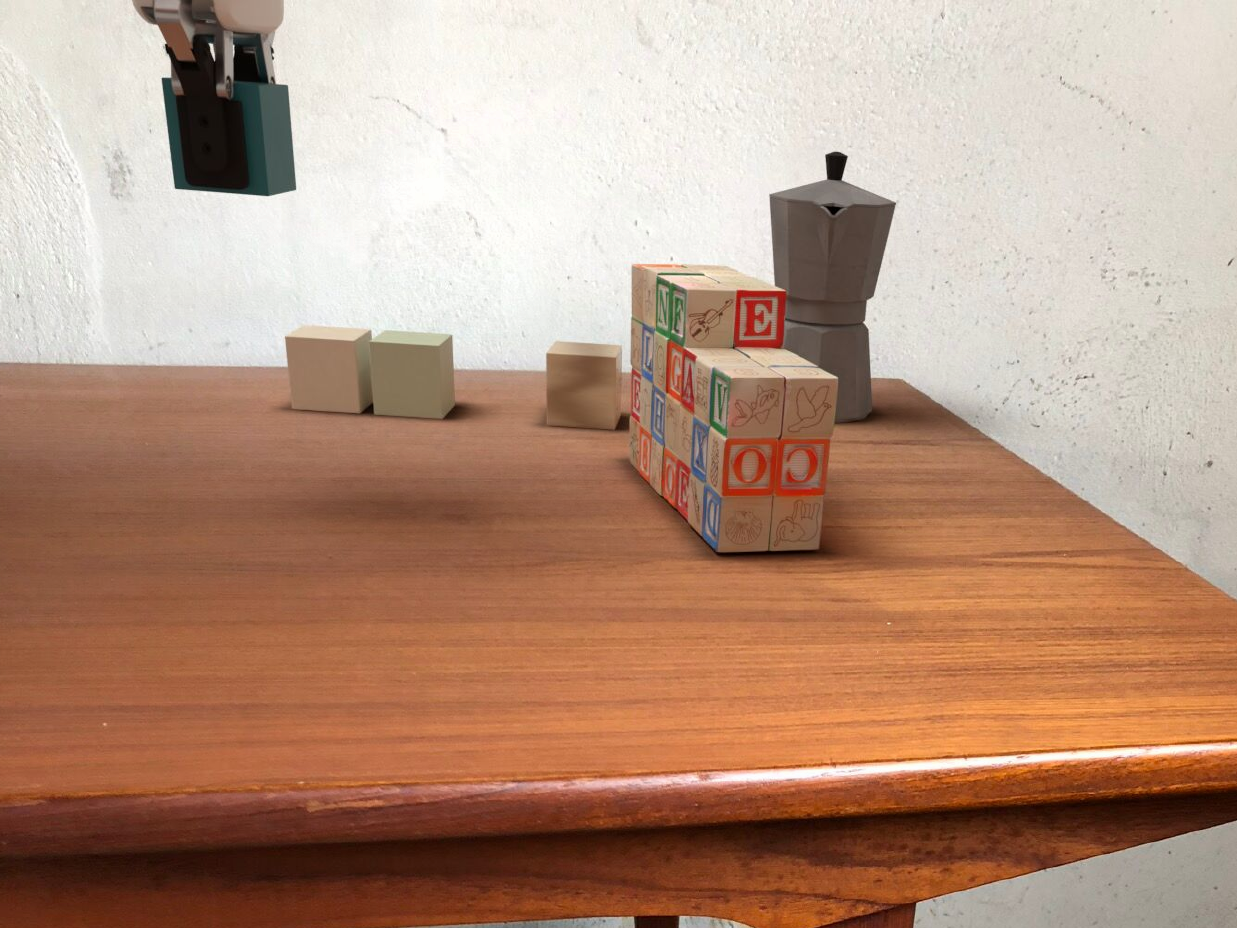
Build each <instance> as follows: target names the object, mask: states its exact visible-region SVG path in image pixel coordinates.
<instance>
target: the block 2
mask: <svg viewBox="0 0 1237 928" xmlns="http://www.w3.org/2000/svg"><path fill="white" fill-rule="evenodd" d="M453 342H454V341H453V334H451V333H437V332H433V333H432V332H422V331H421V332H420V331H406V330H405V331H404V330H392V329H391V330H389V329H385V330H383V331H382V332H380V333H378V334H377V335H376V336H374V337H372V340H370V341H369V349H370V363H371V377H372V391H373V403H372V404H373V405H372V406H373V415H375V416H389V417H402V418H403V417H405V418H418V419H435V420H443V419H444V418H445V417H446V416H447V415H448V414H449V412H451V410H452V409H453V408H454V407H455V406H456V391H455V368H454V366H455V365H454V364H455V363H454V343H453Z"/></svg>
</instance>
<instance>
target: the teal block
mask: <svg viewBox="0 0 1237 928" xmlns="http://www.w3.org/2000/svg"><path fill="white" fill-rule="evenodd" d="M233 82H234V94H233V99H232V100H236V101H242V110H243V121H244V131H245V142H246V152H247V163H248V173H249V186H248V187H247V188H246V189H243V190H234V189H222V188H209V187H196V186H191V185H189V184H188V183H187V181H186V179H185V173H184V165H183V156H182V148H181V139H180V131H179V122H178V113H177V105H176V95H175V94H174V91H173V88H172V83H171V77H161V87H162V95H163V102H164V113H165V120H166V127H167V136H168V144H169V145H168V146H169V152H170V160H171V169H172V177H173V186H174V187H173V188H174V189H175V190H181V191H182V190H183V191H195V192H207V193H209V192H210V193H221V194H232V195H246V196H257V197H258V196H260V197H271V196H276V195H281V194H285V193H290V192H294V191H296V190H297V179H296V168H295V167H296V166H295V154H294V153H295V152H294V144H293V141H294V140H293V131H292V119H291V118H292V117H291V106H290V93H289V85H288V84H282V83H281V84H280V83H279V84H278V83H276V84H269V83H256V82H244V81H233Z"/></svg>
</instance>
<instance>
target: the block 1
mask: <svg viewBox="0 0 1237 928" xmlns="http://www.w3.org/2000/svg"><path fill="white" fill-rule="evenodd" d="M372 335H373V334H372V329H371V328H357V327H340V326H326V325H325V326H324V325H310V324H304V325H303V326H300V327H298V328H297V329H295V330H293V331H291V332H290V333H288V334H286V335H284V343H285V353H286V361H287V362H286V363H287V372H288V373H287V374H288V381H289V392H290V393H289V394H290V402H291V410H293V411H294V410H296V411H313V412H328V413H343V414H357V415H358V414H361V413H363V412H364V411H365V410H366V409H367V408H369V407H370V406H371V405H372V404H373V391H372V377H371V363H370V349H369V341H370V340H372V339H373V336H372Z"/></svg>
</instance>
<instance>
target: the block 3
mask: <svg viewBox="0 0 1237 928" xmlns="http://www.w3.org/2000/svg"><path fill="white" fill-rule="evenodd" d="M545 362H546V363H545V364H546V365H545V374H546V375H545V380H546V381H545V385H546V387H545V389H546V390H545V391H546V392H545V393H546V395H545V396H546V426H548V427H561V428H562V427H563V428H578V429H596V430H607V431H608V430H609V431H615V430H616V428H617V425H618V423H619V421H620V418H621V415H622V379H623V378H622V377H623V370H622V369H623V345H622V344H607V343H594V342H593V343H591V342H576V341H560V340H555V341H554V342H553V343H552V345H551V346H550V347H549V349H548V350H547V351H546V353H545Z"/></svg>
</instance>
